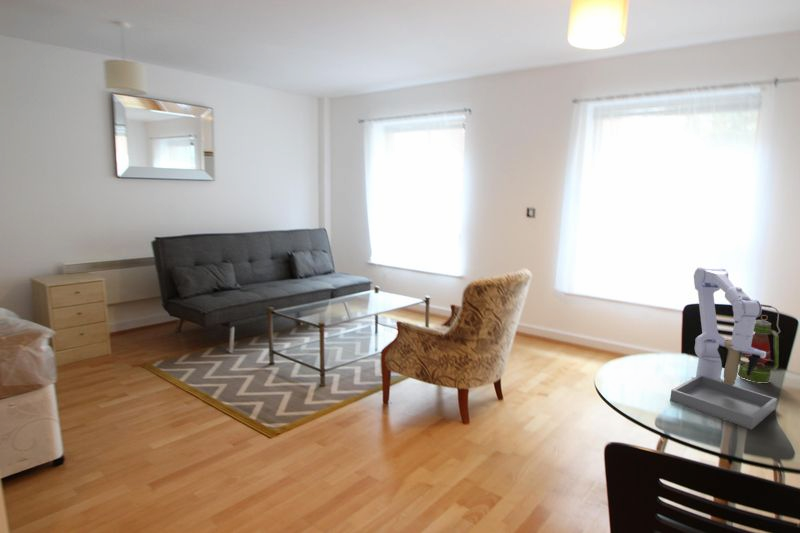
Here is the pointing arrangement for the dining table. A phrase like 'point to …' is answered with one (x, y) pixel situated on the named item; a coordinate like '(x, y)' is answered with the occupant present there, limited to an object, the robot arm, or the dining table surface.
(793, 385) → the dining table surface
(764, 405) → the bin
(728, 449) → the dining table surface
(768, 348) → the lantern
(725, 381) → the handle
